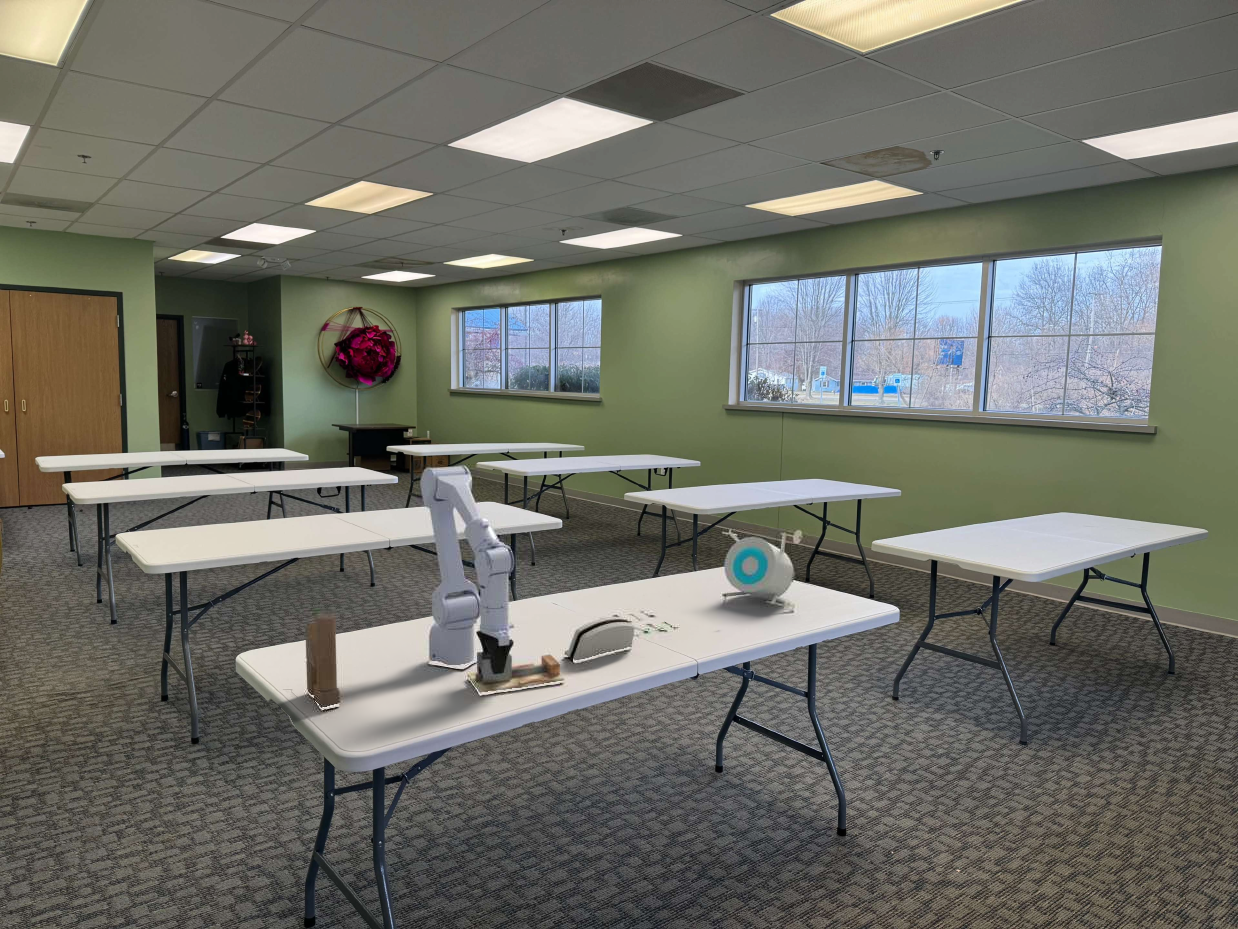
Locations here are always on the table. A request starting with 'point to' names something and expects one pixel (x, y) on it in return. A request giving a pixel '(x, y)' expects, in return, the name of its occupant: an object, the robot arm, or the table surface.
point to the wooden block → (322, 660)
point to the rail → (523, 676)
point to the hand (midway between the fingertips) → (494, 668)
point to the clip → (486, 668)
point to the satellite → (760, 568)
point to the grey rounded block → (601, 637)
